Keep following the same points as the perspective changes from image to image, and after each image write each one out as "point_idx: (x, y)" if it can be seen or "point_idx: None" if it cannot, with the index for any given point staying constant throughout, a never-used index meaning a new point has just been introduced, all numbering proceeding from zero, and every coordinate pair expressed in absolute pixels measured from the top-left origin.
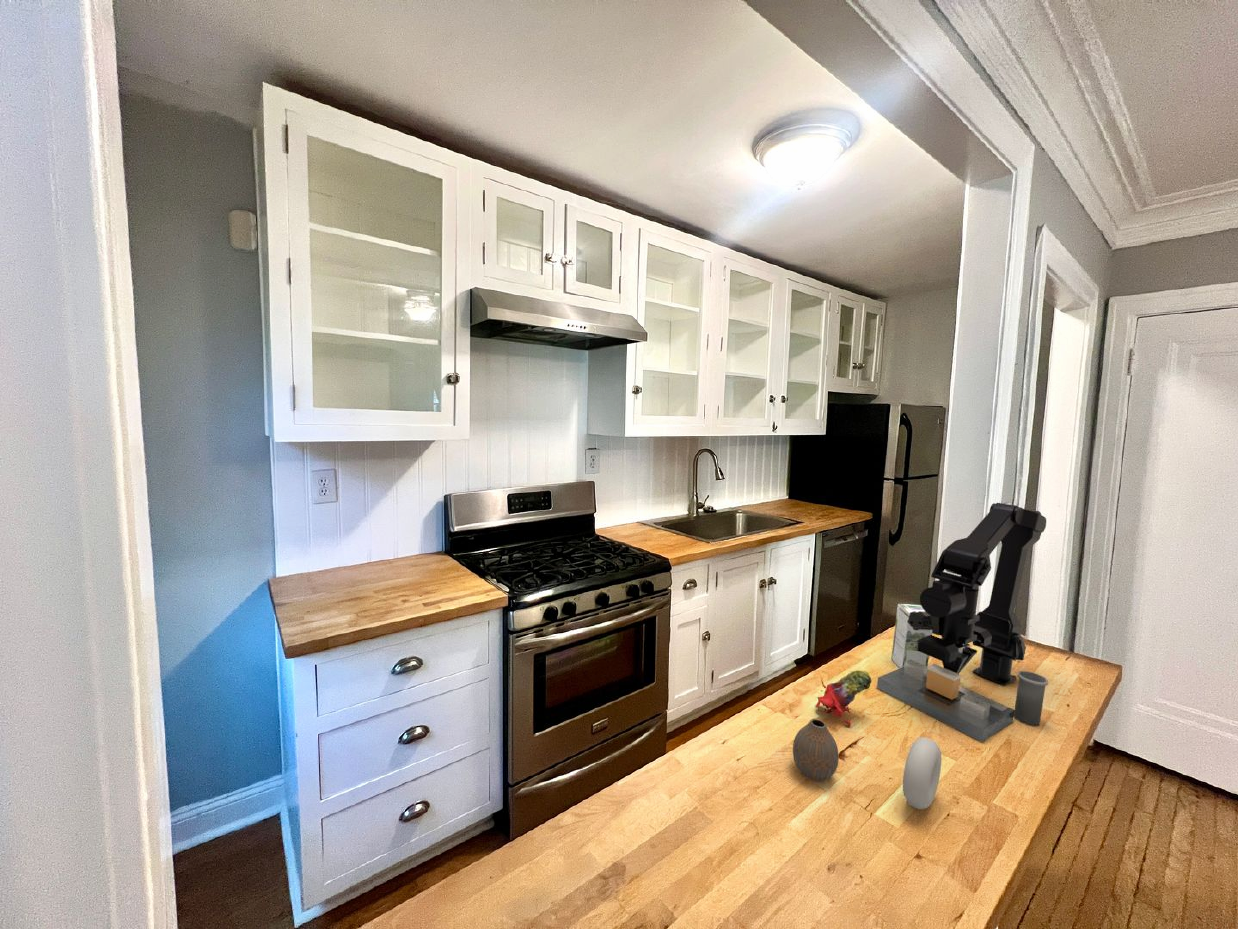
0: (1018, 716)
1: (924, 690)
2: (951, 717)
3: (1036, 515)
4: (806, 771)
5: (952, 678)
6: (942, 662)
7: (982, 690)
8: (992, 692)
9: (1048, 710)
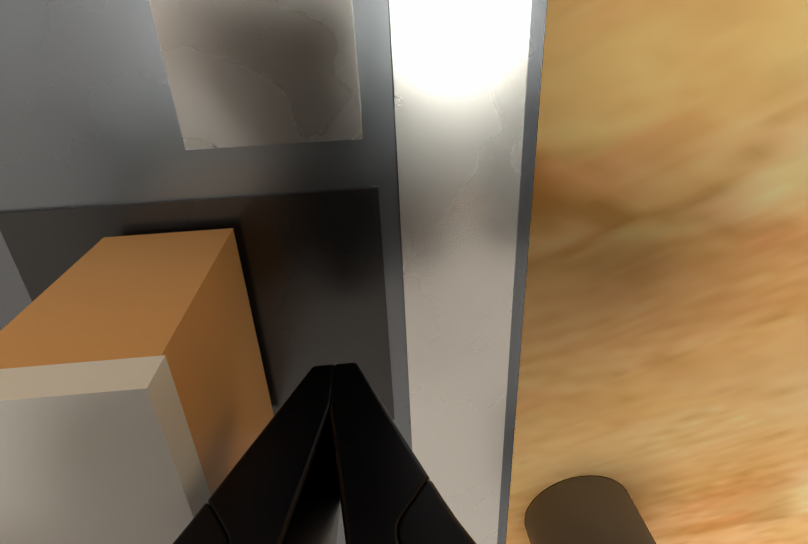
0: (537, 525)
1: (64, 246)
2: None
3: None
4: None
5: None
6: (182, 534)
7: (761, 282)
8: (783, 320)
9: (784, 505)
